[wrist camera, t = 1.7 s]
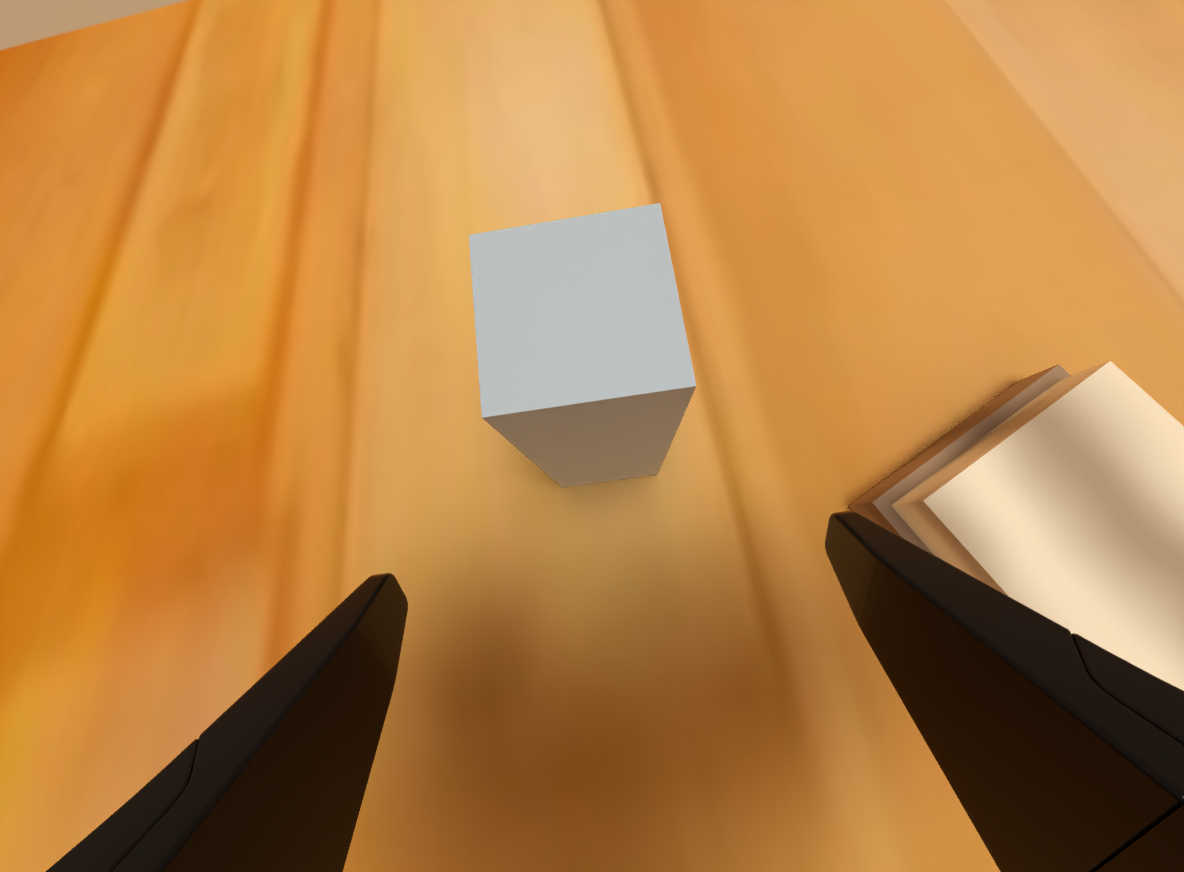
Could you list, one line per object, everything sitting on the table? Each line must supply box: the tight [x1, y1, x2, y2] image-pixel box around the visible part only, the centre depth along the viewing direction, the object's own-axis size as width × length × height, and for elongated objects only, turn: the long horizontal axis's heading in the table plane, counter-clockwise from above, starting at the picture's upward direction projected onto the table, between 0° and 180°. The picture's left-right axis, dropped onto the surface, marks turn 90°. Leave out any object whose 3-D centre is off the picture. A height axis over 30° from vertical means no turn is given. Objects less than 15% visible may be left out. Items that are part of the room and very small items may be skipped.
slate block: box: [469, 203, 696, 488], centre depth 16 cm, size 4×4×12 cm
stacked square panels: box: [848, 361, 1184, 691], centre depth 17 cm, size 10×10×4 cm
